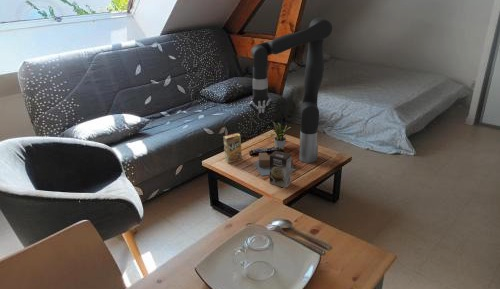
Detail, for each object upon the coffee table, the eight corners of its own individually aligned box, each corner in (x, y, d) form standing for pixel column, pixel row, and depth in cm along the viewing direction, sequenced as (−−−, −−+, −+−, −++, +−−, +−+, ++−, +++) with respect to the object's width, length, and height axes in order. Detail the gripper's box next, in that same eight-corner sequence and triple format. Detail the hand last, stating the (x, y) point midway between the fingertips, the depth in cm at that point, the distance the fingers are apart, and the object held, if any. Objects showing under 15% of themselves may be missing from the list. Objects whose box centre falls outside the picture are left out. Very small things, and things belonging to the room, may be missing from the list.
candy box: (227, 163, 200) (226, 138, 193) (224, 160, 203) (223, 135, 196) (242, 159, 203) (240, 135, 197) (238, 156, 207) (237, 132, 200)
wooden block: (258, 152, 200) (291, 151, 199) (258, 159, 202) (290, 159, 201) (259, 160, 192) (292, 159, 191) (259, 167, 194) (292, 166, 193)
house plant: (261, 147, 217) (261, 122, 210) (278, 140, 224) (278, 116, 217) (277, 155, 207) (277, 129, 200) (294, 148, 214) (295, 123, 207)
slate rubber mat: (285, 157, 204) (285, 156, 204) (295, 170, 190) (295, 169, 190) (253, 162, 200) (253, 161, 200) (261, 176, 186) (261, 175, 186)
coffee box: (269, 183, 179) (268, 155, 172) (275, 177, 184) (275, 149, 177) (285, 188, 175) (286, 159, 168) (291, 182, 180) (291, 153, 173)
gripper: (270, 83, 183) (270, 114, 190) (245, 86, 180) (246, 118, 187) (275, 87, 176) (275, 119, 184) (249, 90, 173) (250, 123, 181)
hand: (260, 119), depth 186 cm, fingers closed
